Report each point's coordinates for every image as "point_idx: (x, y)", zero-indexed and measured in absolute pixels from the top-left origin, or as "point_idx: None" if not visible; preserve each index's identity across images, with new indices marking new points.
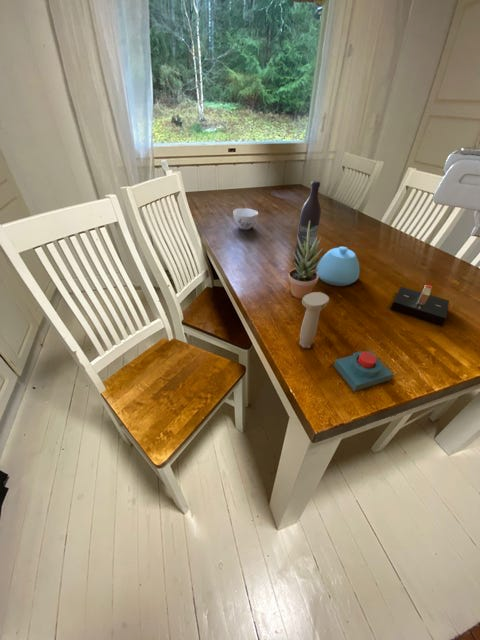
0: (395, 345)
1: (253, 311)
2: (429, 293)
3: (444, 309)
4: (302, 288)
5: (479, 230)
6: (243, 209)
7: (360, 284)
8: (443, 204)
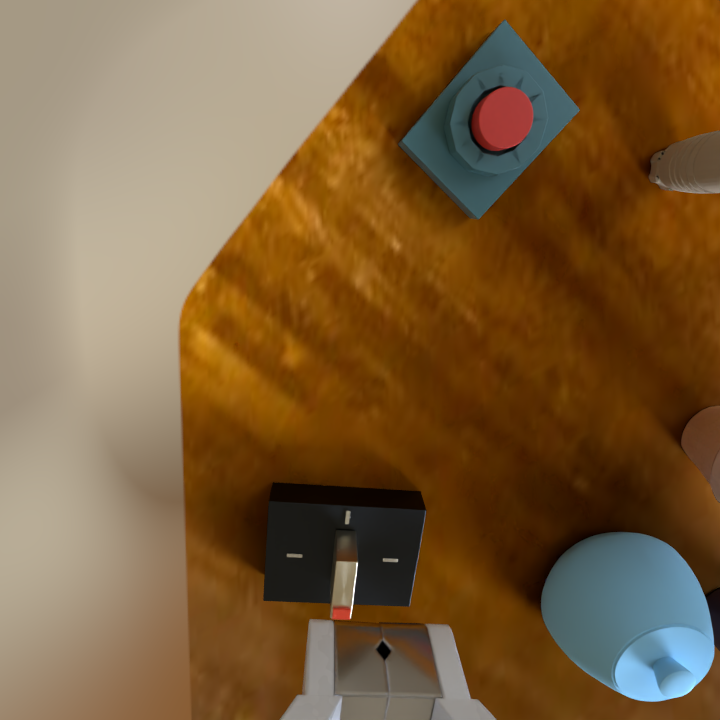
0: (393, 319)
1: None
2: (336, 573)
3: (275, 546)
4: None
5: (420, 671)
6: None
7: (520, 579)
8: None
